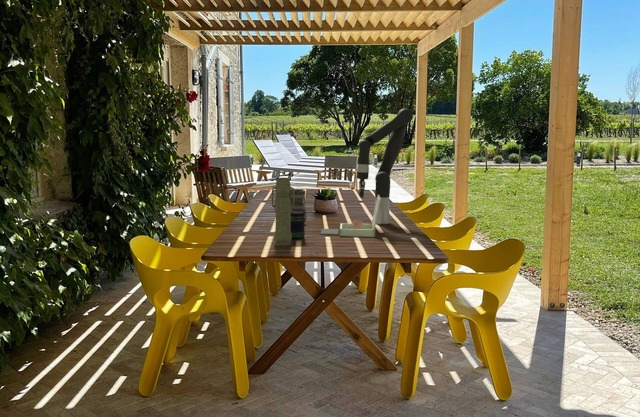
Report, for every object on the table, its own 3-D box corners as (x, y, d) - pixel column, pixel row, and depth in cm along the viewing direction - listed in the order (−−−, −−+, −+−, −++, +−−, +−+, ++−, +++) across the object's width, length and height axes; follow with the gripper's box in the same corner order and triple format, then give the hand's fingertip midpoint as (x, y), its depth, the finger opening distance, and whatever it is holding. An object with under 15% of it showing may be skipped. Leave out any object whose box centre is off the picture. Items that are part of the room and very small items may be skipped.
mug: (304, 212, 416) (305, 191, 414) (286, 212, 417) (286, 191, 414) (306, 208, 436) (306, 188, 433) (288, 208, 436) (288, 188, 434)
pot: (362, 232, 340) (362, 220, 339) (362, 234, 335) (362, 222, 334) (352, 232, 341) (352, 220, 340) (352, 234, 335) (352, 222, 334)
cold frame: (378, 230, 347) (379, 194, 344) (379, 236, 327) (380, 198, 324) (340, 229, 348) (341, 193, 345) (339, 235, 328) (340, 197, 325)
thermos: (295, 246, 299) (295, 178, 294) (272, 246, 297) (272, 178, 292) (293, 242, 307) (294, 177, 302) (271, 243, 306) (271, 177, 301)
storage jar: (300, 241, 312) (300, 213, 310) (284, 239, 316) (284, 212, 314) (307, 237, 322) (307, 211, 320) (291, 236, 325) (291, 210, 323)
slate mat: (338, 230, 346) (338, 229, 346) (338, 235, 330) (338, 233, 330) (322, 229, 347) (322, 228, 347) (320, 234, 331) (320, 233, 331)
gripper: (369, 172, 360) (368, 198, 363) (367, 170, 375) (366, 195, 377) (357, 171, 360) (356, 197, 363) (356, 170, 375) (354, 195, 377)
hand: (361, 196), depth 370 cm, fingers open, 8 cm apart
